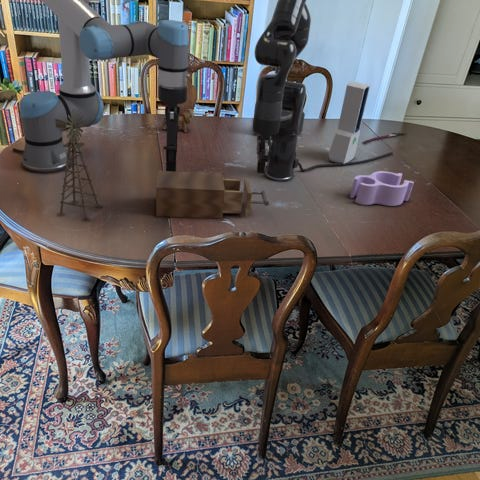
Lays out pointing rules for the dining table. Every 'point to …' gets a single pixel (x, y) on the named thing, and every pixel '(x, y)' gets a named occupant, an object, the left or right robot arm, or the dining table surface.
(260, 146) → the right robot arm
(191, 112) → the lion figurine
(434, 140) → the dining table surface
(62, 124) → the miniature windmill
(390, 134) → the sword
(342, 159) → the electronic device
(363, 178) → the clip
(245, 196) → the drawer
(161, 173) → the cabinet
